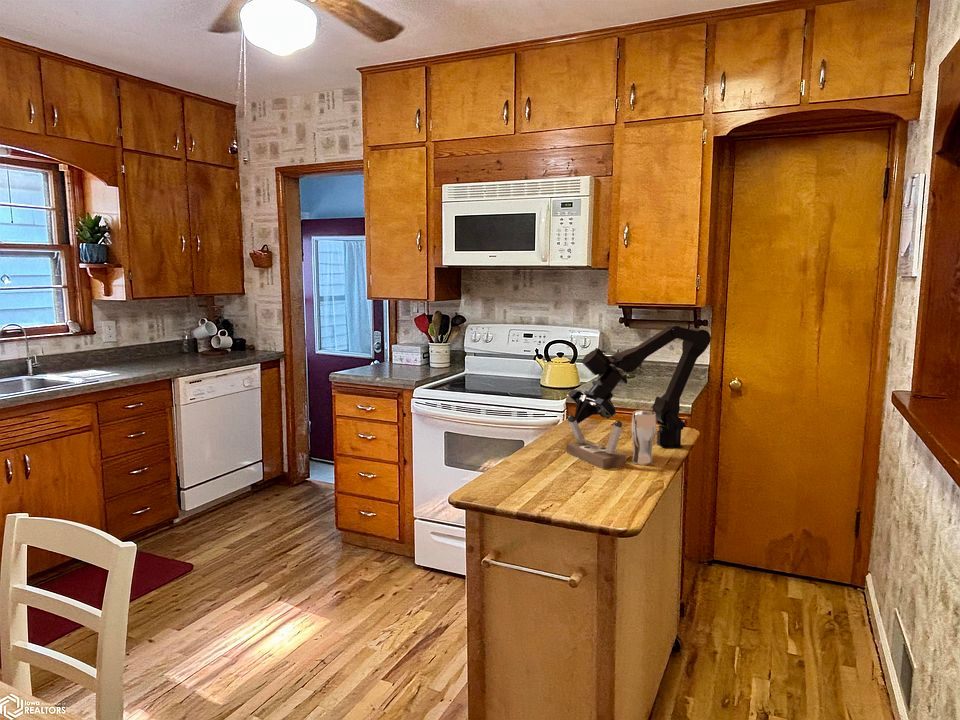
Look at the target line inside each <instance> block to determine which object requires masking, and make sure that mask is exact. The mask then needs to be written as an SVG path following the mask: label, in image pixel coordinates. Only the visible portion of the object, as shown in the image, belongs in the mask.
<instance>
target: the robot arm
mask: <svg viewBox="0 0 960 720" xmlns="http://www.w3.org/2000/svg"><path fill="white" fill-rule="evenodd" d="M676 339H678V340H681V341H682V343H681V345H682V351H681V355H680V358H679V360H678V363H677V365H676V368H675V370H674V373H673V375H671V379H670V382H669V384H668V386H667V388H666V391H665V393H664V394H663V395H662V396H661V397H660V396H656V397H655V399H654V403H653V404H652V406H651V408H652V411H653V412H655V413H656V425H659V426H658V430H656V435H657V436H656V444H657V445H659V446H660V447H661V448H663V449H675V448H676V449H677V448H683V447H684V446H683V445H682V444H681V443H682V441H681V439H682V431H683V430H684V427H685V425H686V423H685V422H684V421H683V420H682V419H681V417H680V416H679V413H680V408H681V407H680V406H681V404H680V402H681V401H680V399H681V397H682V395H683V393H684V390H685V387H686V386H687V383H688V380H689V378H690V376H691V374H692V371H693V369H694V367H695V364H696V362H697V360H698V358H699V357H700V356H701V355H702V354H704V353H705V351H706V350H707V348H708V346H709V345H710V343H711V340H712V337H711V334H710V333H709V331H708V330H706V329H701V328H696V327H691V328H685V327H681V326H679V325H675V324H669V325H667V326H666V327H665V328H664V329H662V330H660V331H659V332H657V333H656V334H654V335H653V336H651V337H650V338H648V339H647V340H644V341H643V342H642V343H640V344H639V345H638V346H635V347H631V348H627V349H625V350H622V351H620V352H618V353H617V354H615V355H614V356H611V357H610V356H609V357H608V356H606V355H605V354H604V353H603V351H602V350H601V349H600V347H599V348H598V347H595V349H593V350H591V351H590V352H589V353H586V354H585V356H583V359H582V360H581V363H582V364H583V365H584V367H585V368H587V369H588V370H589V371H590V373H592V374H593V375H594V376H598V375H599V378H597V379H596V380H592V382H591V384H592V387H590V388H589V390H585V391H584V393H583V392H582V391H581V390H577V389H571V390H570V391H569V392H568V394H567V396H568V397H569V398H570V399H571V400H572V401H573V402H574V403H575V404H576V408H575V413H574V415H573V416H574V417H575V420H576V421H577V423H578V425H579V424H580V423H582V422H583V421H584V420H586V419H588V418H589V417H591V416H594V415H598V416H600V417H602V418H606V419H607V420H609V419H610V418H613V417H614V416H615V415H616V414H617V411H616V410H617V408H616V407H615V406H614V403H613V402H612V398H613V396H614V394H613V393H612V392H613V391H614V390H615V389H616V388H617V386H618V385H619V383H620V384H628V383H629V382H628V379H627V377H628V376H627V374H622V373H621V372H620V371H622V372H623V373H629V374H630V373H633V372H634V371H635V370H637V368H638V367H639V366H641V365H642V364H643V362H644V361H645V360H646V359H647V358H648V357H649V356H651V355H653V354H654V353H656V352H657V351H659V350H660V349H662V348H663V347H665V346H667V345H669V344H670V343H671V342H673V341H674V340H675V341H676ZM614 368H615V369H614Z"/></svg>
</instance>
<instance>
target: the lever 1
mask: <svg viewBox="0 0 960 720" xmlns="http://www.w3.org/2000/svg"><path fill="white" fill-rule="evenodd" d="M574 416H575V415H573V414H570V415H568V416H567V422H568V424H569V426H570V428H571V430H572V431H571V432H572V434H573V435H574V438H575V440H576V442H579V443H581V444H583V443H584V442H586V438H585V437H584V434H583V433H582V430H581V428H580V425H579V424H578V423H577V421H576V420H575V417H574Z"/></svg>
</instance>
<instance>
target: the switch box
mask: <svg viewBox="0 0 960 720" xmlns="http://www.w3.org/2000/svg"><path fill="white" fill-rule="evenodd" d="M585 441H586V442H584V443H583V444H581V443H579V442H577V441H572V442H566V447H565V453H566V452H567V454H568V453H569V454H568V455H570V454H571V455H570V456H572V457H575V456H576V457H575V458H577V457H578V458H577V459H579V458H580V459H579V460H582V461H584V462H586V463H589V464H590V465H593V466H595V467H598V468H600V469H602V470H606V469H610V468H611V469H612V468H619V467H625V466H626V465H627V464H626V463H627V462H626V461H627V460H626V459H627V455H626V454H624V453H622V452H621V453H620V452H618V451H616V450H615V453H614V454H610V453H608V452H605V449H606V447H605V446H603V445H601V444H598V443H596V442H593V441H591V440H589V439H588V440H586V439H585Z"/></svg>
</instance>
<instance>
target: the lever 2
mask: <svg viewBox="0 0 960 720" xmlns="http://www.w3.org/2000/svg"><path fill="white" fill-rule="evenodd" d="M622 431H623V422H622V421H621V420H615V422H614V425H612V427H611V431H610V434H609V437H608V440H607V443H606V449H605V452H608V453H610V454H614V453H615V451H616V450H617V446H618V443H619V440H620V437H621V433H622Z"/></svg>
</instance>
